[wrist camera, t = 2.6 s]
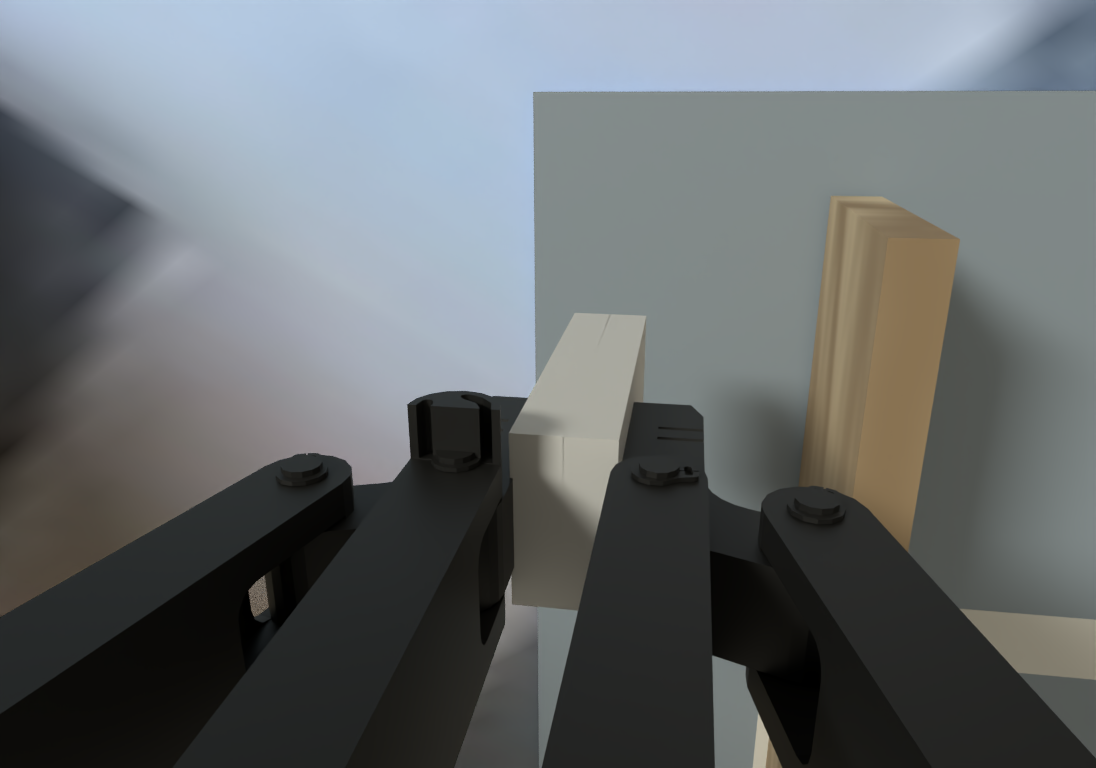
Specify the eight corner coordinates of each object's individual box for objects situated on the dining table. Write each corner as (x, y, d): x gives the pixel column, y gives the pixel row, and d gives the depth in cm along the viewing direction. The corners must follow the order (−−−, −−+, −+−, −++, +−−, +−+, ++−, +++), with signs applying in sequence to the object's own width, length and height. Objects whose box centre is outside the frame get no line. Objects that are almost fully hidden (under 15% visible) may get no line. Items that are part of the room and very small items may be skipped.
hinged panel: (780, 645, 25) (813, 831, 18) (830, 195, 20) (896, 244, 14) (822, 649, 24) (869, 838, 18) (882, 196, 20) (971, 245, 14)
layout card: (542, 951, 32) (540, 962, 31) (535, 92, 21) (533, 92, 21) (1172, 1044, 28) (1179, 1057, 28) (1535, 89, 18) (1553, 90, 18)
